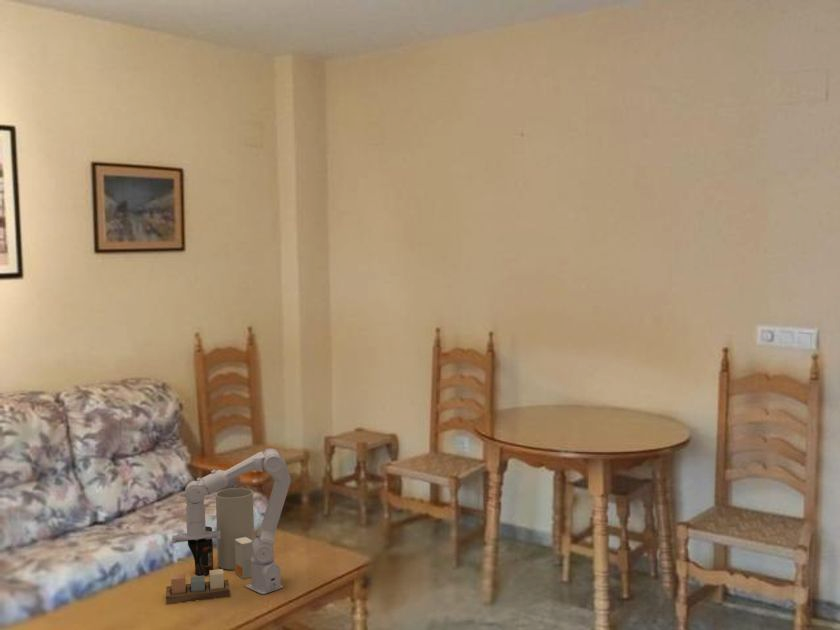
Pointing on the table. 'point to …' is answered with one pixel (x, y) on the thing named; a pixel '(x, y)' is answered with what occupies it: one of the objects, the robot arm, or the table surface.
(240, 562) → the skincare box
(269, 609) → the table surface
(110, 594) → the table surface
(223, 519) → the cylinder vase
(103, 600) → the table surface
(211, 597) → the socket board
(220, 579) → the cream key
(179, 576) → the terracotta key
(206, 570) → the deodorant
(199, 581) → the slate blue key
